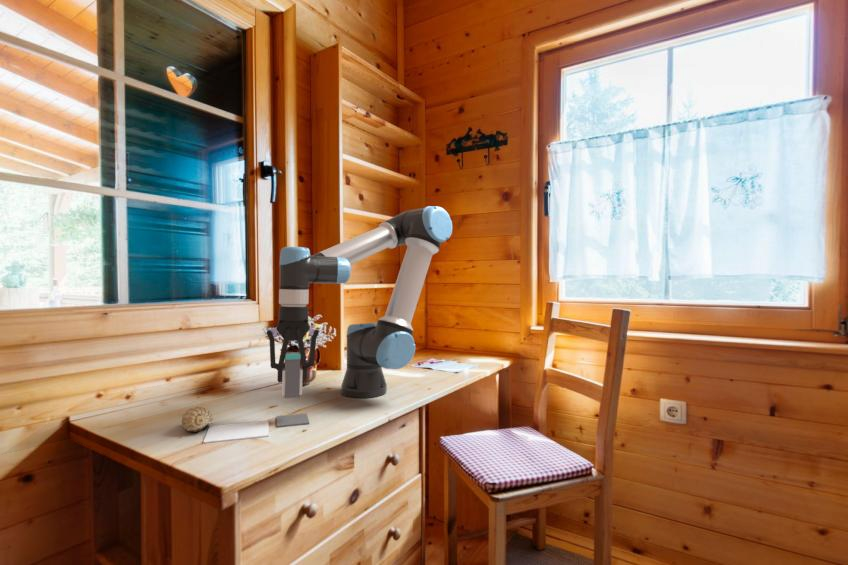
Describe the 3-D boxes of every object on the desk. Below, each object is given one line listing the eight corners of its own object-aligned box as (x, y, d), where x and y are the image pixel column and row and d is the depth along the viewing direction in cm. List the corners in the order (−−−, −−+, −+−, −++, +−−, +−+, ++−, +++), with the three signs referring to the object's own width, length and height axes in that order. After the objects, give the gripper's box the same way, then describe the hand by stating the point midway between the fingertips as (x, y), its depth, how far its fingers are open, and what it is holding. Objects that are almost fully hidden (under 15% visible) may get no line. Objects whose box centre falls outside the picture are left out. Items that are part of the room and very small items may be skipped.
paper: (268, 421, 114) (268, 420, 114) (268, 436, 104) (268, 435, 104) (209, 427, 109) (209, 426, 109) (203, 443, 99) (203, 442, 99)
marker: (298, 393, 117) (299, 352, 117) (299, 397, 113) (300, 354, 113) (284, 394, 116) (284, 352, 116) (284, 398, 112) (285, 355, 112)
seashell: (173, 443, 106) (196, 431, 102) (165, 420, 107) (188, 407, 103) (202, 432, 113) (224, 420, 109) (194, 410, 114) (216, 397, 110)
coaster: (306, 414, 120) (306, 413, 120) (309, 424, 113) (309, 422, 113) (276, 417, 117) (276, 416, 117) (276, 427, 110) (276, 425, 110)
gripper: (324, 304, 121) (322, 388, 121) (260, 304, 115) (258, 392, 115) (327, 306, 114) (325, 395, 114) (259, 306, 108) (257, 399, 108)
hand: (291, 393), depth 115 cm, fingers closed on marker, 4 cm apart
